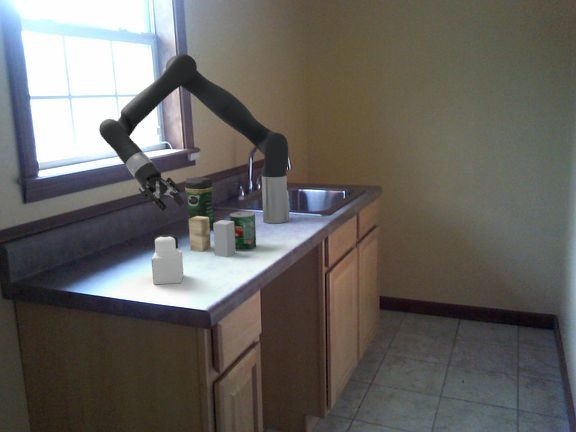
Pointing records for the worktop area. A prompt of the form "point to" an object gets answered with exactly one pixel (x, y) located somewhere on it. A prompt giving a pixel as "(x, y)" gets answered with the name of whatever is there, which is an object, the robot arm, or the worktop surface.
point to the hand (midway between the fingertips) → (174, 206)
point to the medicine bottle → (167, 260)
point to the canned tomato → (244, 230)
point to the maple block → (199, 233)
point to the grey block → (224, 238)
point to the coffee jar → (200, 198)
